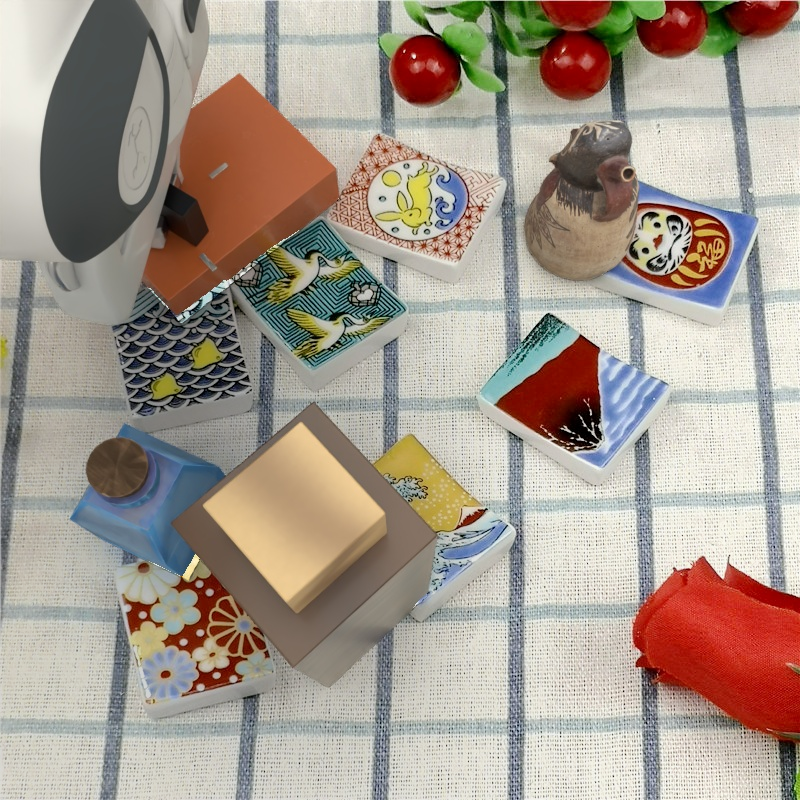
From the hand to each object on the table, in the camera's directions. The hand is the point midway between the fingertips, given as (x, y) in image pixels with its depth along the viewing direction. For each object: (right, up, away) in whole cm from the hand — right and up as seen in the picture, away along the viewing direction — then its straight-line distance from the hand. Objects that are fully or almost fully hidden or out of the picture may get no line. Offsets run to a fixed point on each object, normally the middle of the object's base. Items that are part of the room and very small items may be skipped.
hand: (162, 212), depth 64 cm
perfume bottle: (+1, -19, -2) cm, 19 cm away
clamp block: (+3, +1, +5) cm, 6 cm away
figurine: (+27, -1, +4) cm, 28 cm away
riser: (+11, -24, -3) cm, 26 cm away
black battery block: (0, 0, 0) cm, 0 cm away
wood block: (+11, -17, -22) cm, 30 cm away
